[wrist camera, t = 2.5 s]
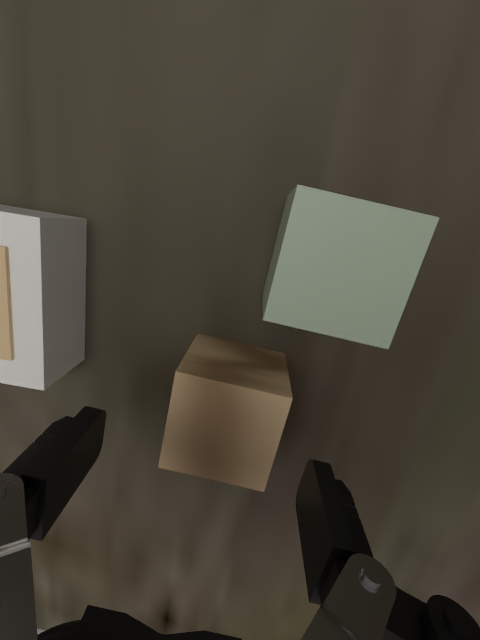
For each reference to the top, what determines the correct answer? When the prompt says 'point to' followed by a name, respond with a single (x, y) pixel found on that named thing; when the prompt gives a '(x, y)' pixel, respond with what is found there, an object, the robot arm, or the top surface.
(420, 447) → the top surface
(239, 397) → the oak block
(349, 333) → the sage block
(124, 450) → the top surface
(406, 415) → the top surface
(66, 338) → the white base
